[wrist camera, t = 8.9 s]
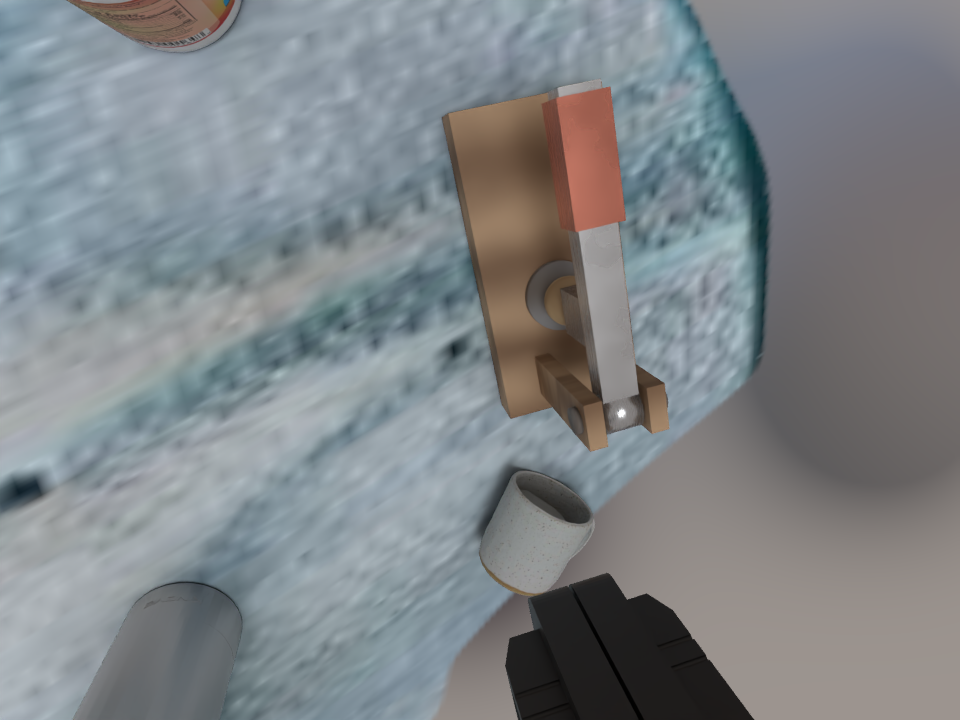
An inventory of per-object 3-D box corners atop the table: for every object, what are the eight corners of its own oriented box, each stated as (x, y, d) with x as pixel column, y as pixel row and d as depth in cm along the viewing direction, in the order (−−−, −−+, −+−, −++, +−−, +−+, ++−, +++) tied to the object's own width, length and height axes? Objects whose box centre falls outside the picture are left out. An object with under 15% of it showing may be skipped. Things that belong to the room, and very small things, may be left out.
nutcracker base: (622, 371, 51) (710, 436, 38) (502, 404, 49) (552, 483, 37) (585, 87, 43) (680, 50, 30) (442, 117, 42) (479, 91, 29)
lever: (613, 398, 43) (650, 430, 37) (575, 408, 42) (607, 443, 37) (571, 91, 36) (609, 75, 30) (524, 101, 35) (555, 87, 30)
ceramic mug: (466, 538, 53) (485, 596, 45) (502, 460, 51) (528, 507, 44) (565, 564, 56) (597, 621, 49) (602, 491, 54) (641, 539, 47)
